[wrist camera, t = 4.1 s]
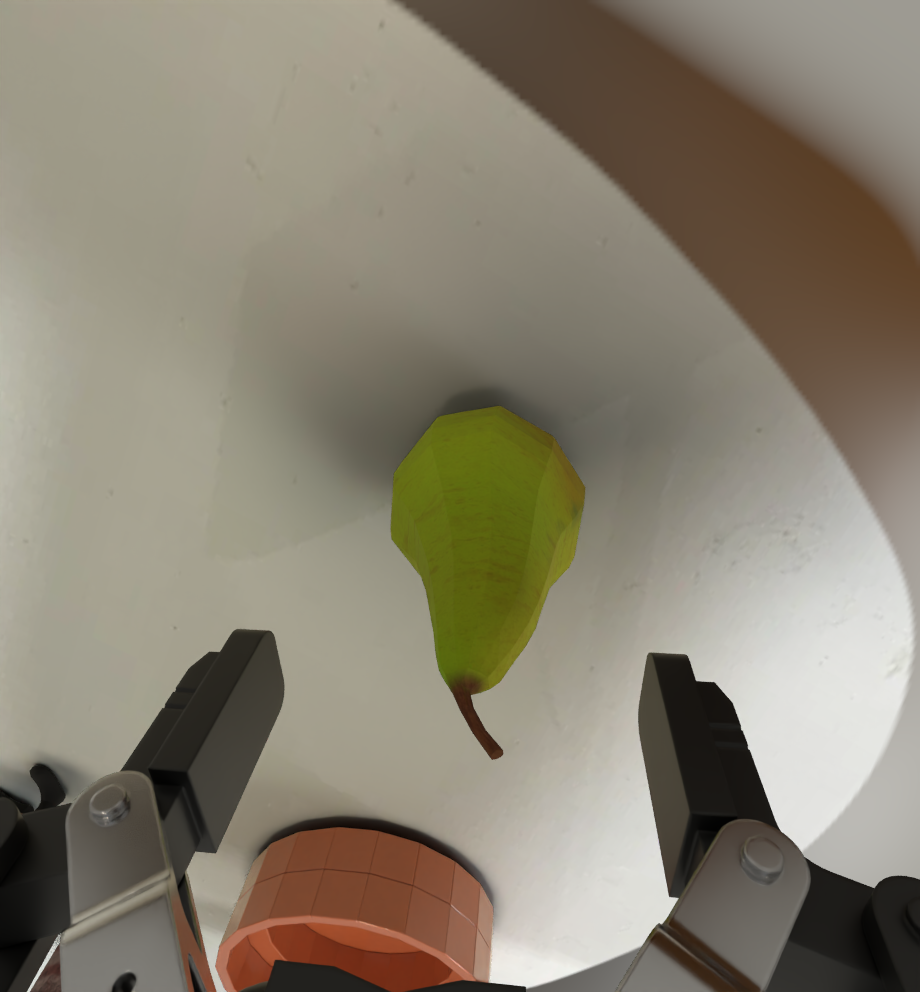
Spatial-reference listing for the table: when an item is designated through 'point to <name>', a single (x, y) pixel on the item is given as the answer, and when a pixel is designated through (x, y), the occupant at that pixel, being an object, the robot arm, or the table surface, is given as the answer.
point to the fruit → (485, 540)
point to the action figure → (42, 790)
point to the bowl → (358, 912)
